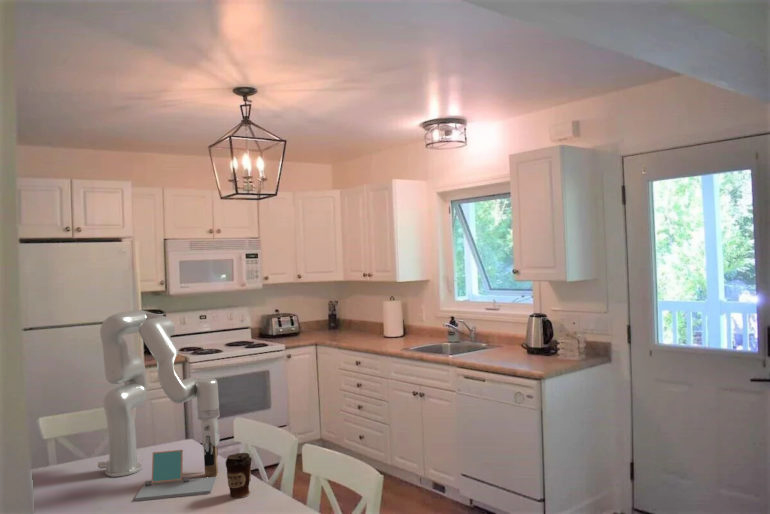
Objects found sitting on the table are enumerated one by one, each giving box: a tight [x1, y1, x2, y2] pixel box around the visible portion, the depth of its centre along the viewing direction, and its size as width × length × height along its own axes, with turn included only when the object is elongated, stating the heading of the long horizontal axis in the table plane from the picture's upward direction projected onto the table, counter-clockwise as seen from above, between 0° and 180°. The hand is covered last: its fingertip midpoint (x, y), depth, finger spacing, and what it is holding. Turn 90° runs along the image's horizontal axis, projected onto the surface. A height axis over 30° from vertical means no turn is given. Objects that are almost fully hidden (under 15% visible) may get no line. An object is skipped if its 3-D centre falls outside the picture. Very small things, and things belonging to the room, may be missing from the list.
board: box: [134, 476, 217, 502], centre depth 210 cm, size 24×13×2 cm, turn 98°
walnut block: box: [203, 444, 219, 478], centre depth 222 cm, size 4×4×12 cm
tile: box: [151, 449, 184, 483], centre depth 215 cm, size 10×10×1 cm
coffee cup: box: [225, 452, 253, 499], centre depth 202 cm, size 9×8×13 cm
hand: (211, 460), depth 222 cm, fingers open, 9 cm apart
